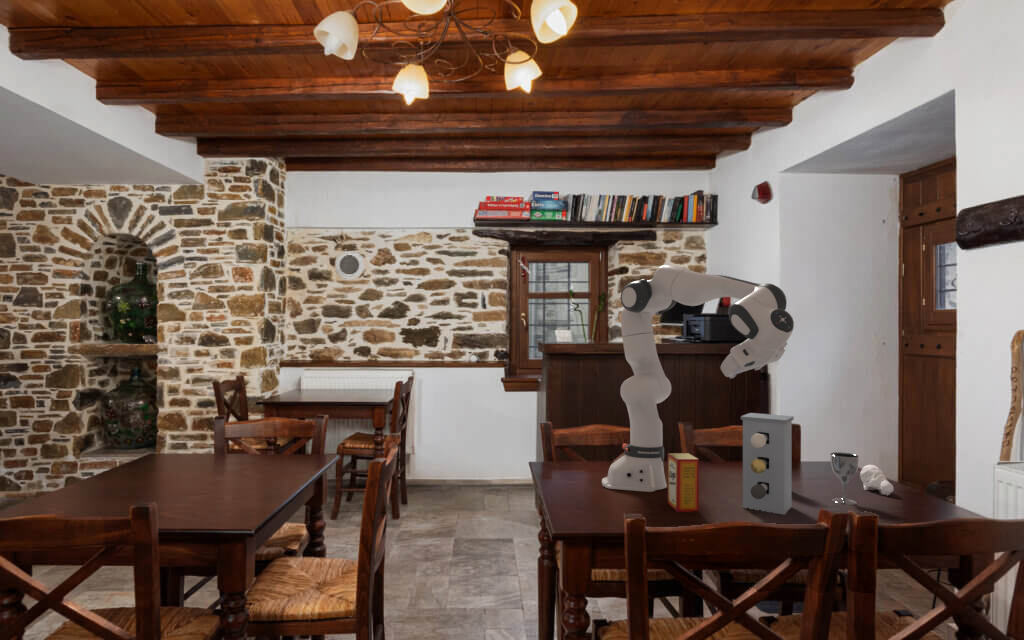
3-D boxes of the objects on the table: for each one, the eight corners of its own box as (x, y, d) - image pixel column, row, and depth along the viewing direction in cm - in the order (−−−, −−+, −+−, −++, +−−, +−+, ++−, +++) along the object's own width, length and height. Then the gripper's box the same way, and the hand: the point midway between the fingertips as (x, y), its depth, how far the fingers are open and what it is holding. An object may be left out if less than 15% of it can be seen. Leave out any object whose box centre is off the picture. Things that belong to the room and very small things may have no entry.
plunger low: (764, 500, 181) (764, 486, 181) (750, 498, 183) (750, 484, 183) (772, 493, 189) (772, 480, 189) (758, 491, 191) (758, 478, 191)
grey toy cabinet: (785, 515, 183) (785, 420, 184) (740, 507, 191) (740, 416, 191) (793, 507, 192) (793, 416, 193) (750, 500, 200) (750, 412, 200)
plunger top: (764, 448, 181) (764, 434, 181) (750, 447, 183) (750, 433, 184) (772, 443, 189) (772, 430, 189) (758, 442, 191) (758, 429, 191)
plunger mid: (764, 474, 181) (764, 460, 181) (750, 472, 183) (750, 458, 183) (772, 468, 189) (772, 455, 189) (758, 466, 191) (758, 453, 191)
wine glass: (825, 498, 203) (825, 452, 203) (850, 498, 203) (850, 452, 203) (837, 504, 195) (837, 457, 195) (863, 505, 195) (863, 457, 195)
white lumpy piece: (875, 462, 217) (900, 473, 205) (873, 486, 218) (899, 499, 206) (858, 463, 216) (883, 474, 205) (857, 487, 217) (881, 499, 205)
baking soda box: (667, 503, 195) (667, 452, 196) (688, 502, 196) (688, 452, 196) (677, 511, 186) (677, 458, 186) (698, 511, 186) (698, 458, 186)
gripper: (783, 332, 191) (765, 355, 202) (726, 349, 186) (711, 372, 197) (795, 348, 188) (776, 371, 199) (737, 366, 182) (721, 389, 194)
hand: (743, 372), depth 198 cm, fingers open, 8 cm apart
